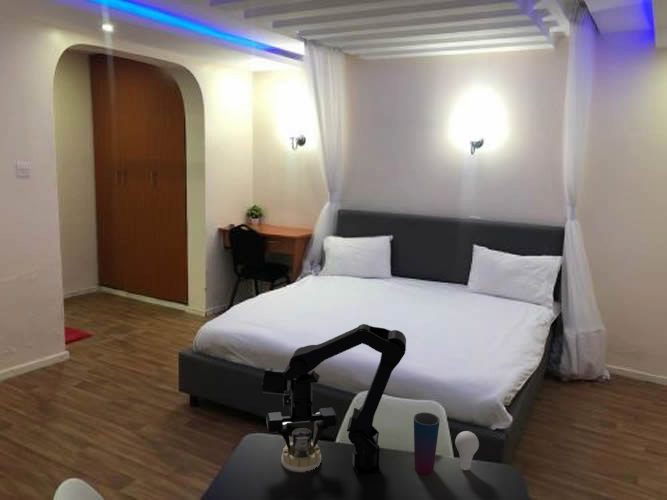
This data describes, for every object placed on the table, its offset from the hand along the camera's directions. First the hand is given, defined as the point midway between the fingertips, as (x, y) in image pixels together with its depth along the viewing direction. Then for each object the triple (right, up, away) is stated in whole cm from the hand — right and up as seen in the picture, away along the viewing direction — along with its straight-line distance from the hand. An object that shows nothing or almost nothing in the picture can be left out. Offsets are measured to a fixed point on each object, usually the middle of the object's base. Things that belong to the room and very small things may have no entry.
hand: (301, 447), depth 153 cm
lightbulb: (+44, -5, -2) cm, 45 cm away
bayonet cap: (0, -3, +1) cm, 3 cm away
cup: (+33, -5, -2) cm, 34 cm away
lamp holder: (0, -4, +1) cm, 4 cm away
